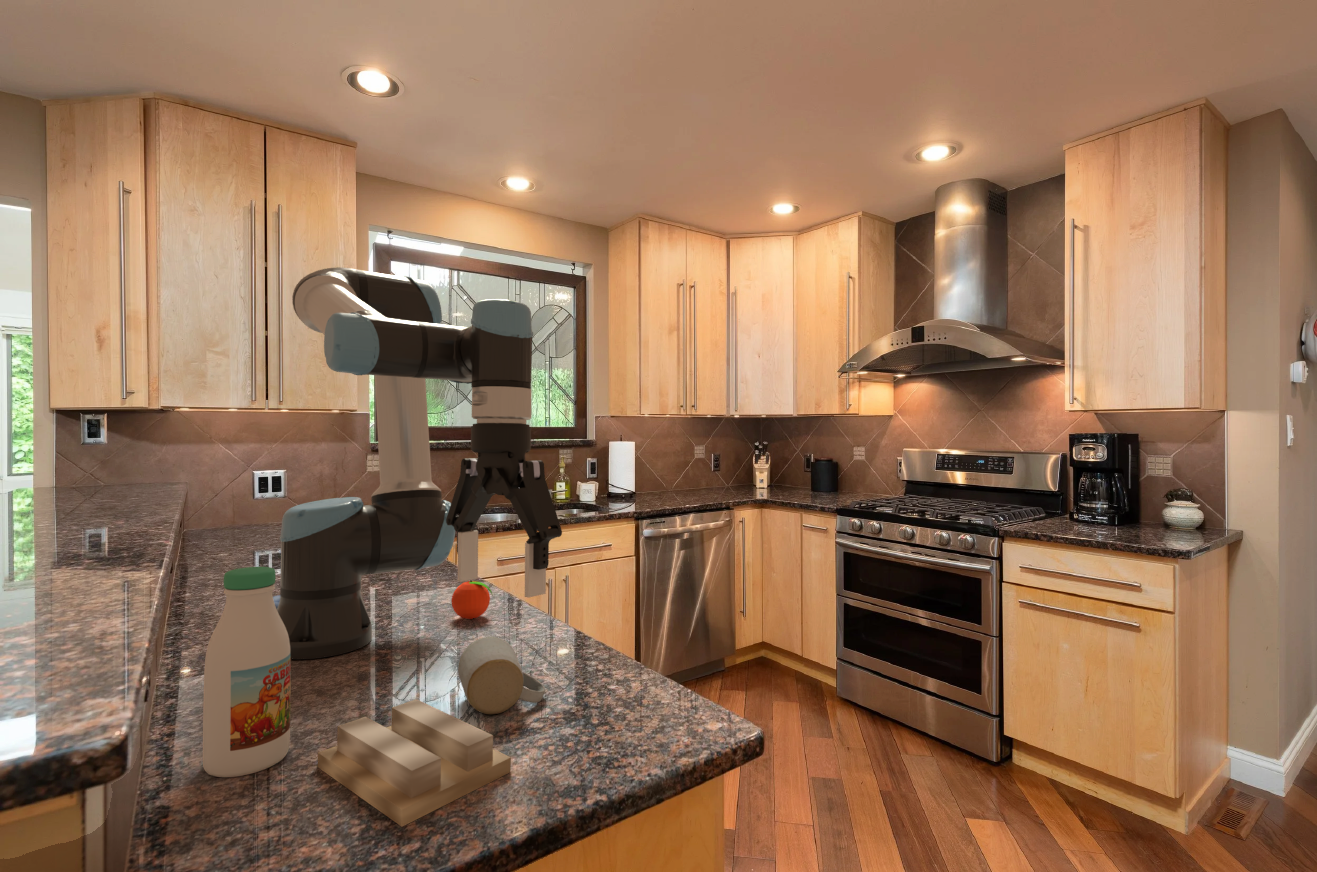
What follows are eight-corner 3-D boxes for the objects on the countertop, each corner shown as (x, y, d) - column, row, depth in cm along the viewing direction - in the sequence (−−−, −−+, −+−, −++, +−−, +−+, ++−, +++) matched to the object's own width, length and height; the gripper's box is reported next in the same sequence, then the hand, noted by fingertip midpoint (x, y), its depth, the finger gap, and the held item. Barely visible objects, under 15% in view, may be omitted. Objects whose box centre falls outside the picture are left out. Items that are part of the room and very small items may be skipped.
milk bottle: (193, 786, 63) (196, 580, 63) (212, 750, 70) (214, 565, 70) (284, 770, 66) (287, 574, 66) (293, 737, 73) (296, 560, 73)
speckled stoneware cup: (465, 722, 77) (467, 658, 77) (456, 696, 85) (458, 638, 85) (551, 710, 82) (553, 649, 82) (536, 686, 89) (538, 630, 89)
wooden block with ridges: (317, 766, 67) (318, 728, 67) (422, 726, 76) (423, 692, 76) (401, 826, 57) (402, 781, 57) (510, 771, 66) (511, 732, 66)
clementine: (501, 615, 123) (502, 578, 123) (483, 625, 117) (484, 586, 117) (463, 612, 125) (464, 575, 125) (443, 621, 118) (444, 583, 118)
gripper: (420, 422, 88) (419, 578, 88) (545, 419, 73) (543, 608, 72) (467, 423, 94) (465, 570, 94) (591, 421, 79) (590, 596, 78)
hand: (499, 587), depth 83 cm, fingers open, 13 cm apart
